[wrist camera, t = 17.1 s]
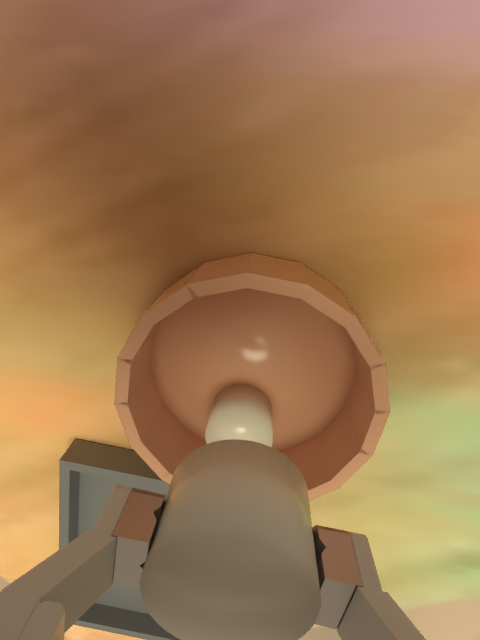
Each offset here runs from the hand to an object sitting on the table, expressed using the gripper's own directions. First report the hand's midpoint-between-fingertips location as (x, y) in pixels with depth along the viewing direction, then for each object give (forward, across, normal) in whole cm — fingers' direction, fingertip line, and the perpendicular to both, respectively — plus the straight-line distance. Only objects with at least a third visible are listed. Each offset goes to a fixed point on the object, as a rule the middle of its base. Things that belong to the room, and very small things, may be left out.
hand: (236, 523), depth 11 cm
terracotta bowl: (+16, 0, +3) cm, 16 cm away
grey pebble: (+1, 0, 0) cm, 1 cm away
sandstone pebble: (+15, 0, +6) cm, 16 cm away
